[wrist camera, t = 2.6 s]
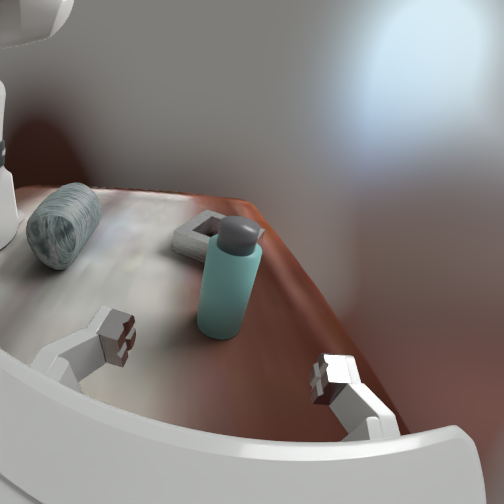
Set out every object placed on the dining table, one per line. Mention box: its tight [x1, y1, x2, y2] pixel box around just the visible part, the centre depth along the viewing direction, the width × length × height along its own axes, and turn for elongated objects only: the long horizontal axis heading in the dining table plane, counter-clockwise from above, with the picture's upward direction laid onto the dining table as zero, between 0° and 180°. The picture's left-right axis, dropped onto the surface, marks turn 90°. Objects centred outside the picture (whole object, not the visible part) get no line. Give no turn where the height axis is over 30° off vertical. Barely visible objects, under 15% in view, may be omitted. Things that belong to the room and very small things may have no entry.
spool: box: [26, 183, 101, 270], centre depth 29 cm, size 14×10×10 cm
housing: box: [172, 210, 265, 263], centre depth 39 cm, size 10×10×3 cm
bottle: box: [197, 216, 262, 340], centre depth 24 cm, size 4×4×11 cm
